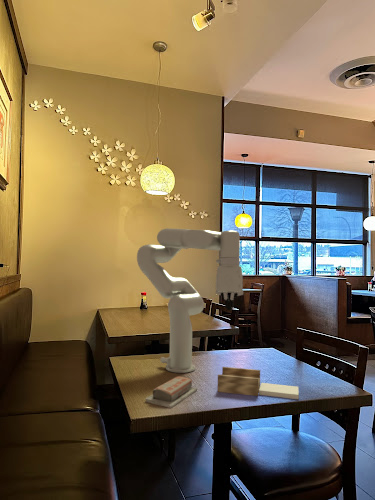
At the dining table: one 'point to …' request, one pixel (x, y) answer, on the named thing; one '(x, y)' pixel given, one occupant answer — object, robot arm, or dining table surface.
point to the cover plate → (279, 390)
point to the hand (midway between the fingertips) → (229, 310)
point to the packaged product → (171, 392)
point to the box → (239, 381)
